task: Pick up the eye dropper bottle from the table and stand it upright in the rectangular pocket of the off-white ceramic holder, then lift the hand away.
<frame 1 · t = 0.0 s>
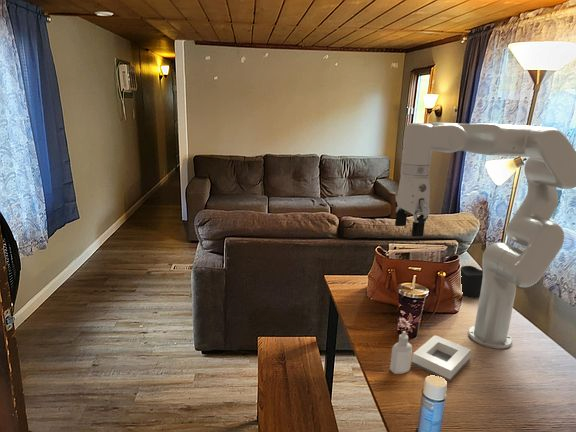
hand: (408, 230, 117), 37 cm above the table, tool pointing down, fingers open, 9 cm apart
pen holder: (470, 294, 165), on the table
bottle holder: (440, 362, 120), on the table
eye dropper bottle: (399, 370, 116), on the table
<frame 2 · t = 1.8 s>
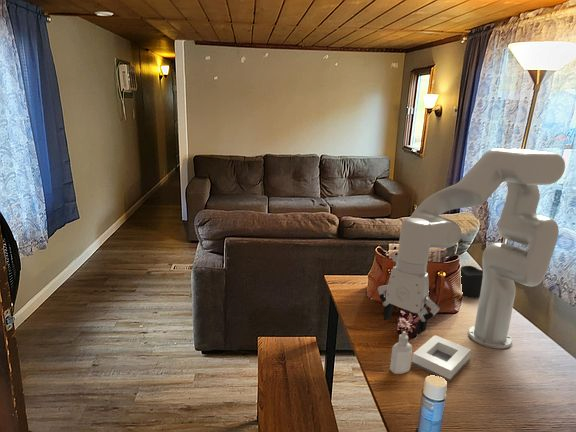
hand: (403, 325, 112), 14 cm above the table, tool pointing down, fingers open, 9 cm apart
nothing on the table moved.
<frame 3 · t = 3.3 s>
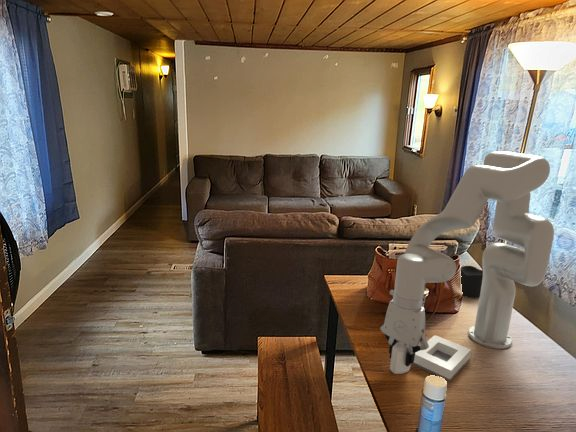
hand: (401, 359, 115), 3 cm above the table, tool pointing down, fingers closed on eye dropper bottle, 4 cm apart
eye dropper bottle: (399, 370, 116), on the table, touching gripper
everything else where it was.
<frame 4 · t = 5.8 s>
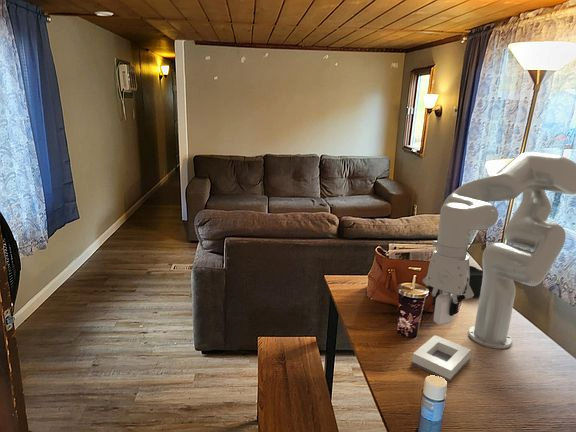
hand: (444, 310, 116), 17 cm above the table, tool pointing down, fingers closed on eye dropper bottle, 4 cm apart
eye dropper bottle: (443, 321, 117), point 13 cm above the table, touching gripper
everything else where it was.
when the fingers open (5 cm above the table, at t = 8.5 s): eye dropper bottle drops 1 cm, resting on bottle holder.
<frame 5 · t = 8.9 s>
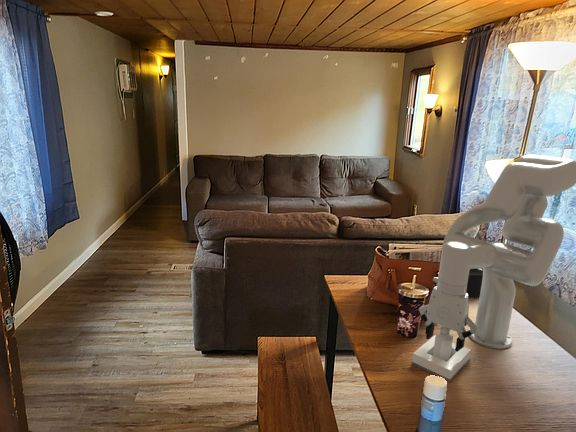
hand: (443, 342, 119), 6 cm above the table, tool pointing down, fingers open, 8 cm apart
eye dropper bottle: (441, 359, 120), point 1 cm above the table, touching bottle holder
everything else where it was.
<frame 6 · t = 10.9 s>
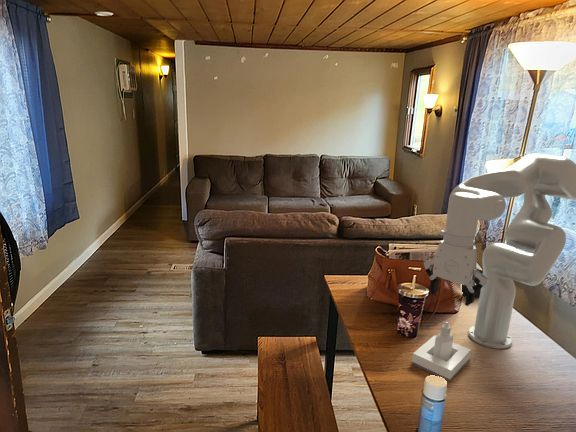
hand: (450, 298, 115), 20 cm above the table, tool pointing down, fingers open, 9 cm apart
nothing on the table moved.
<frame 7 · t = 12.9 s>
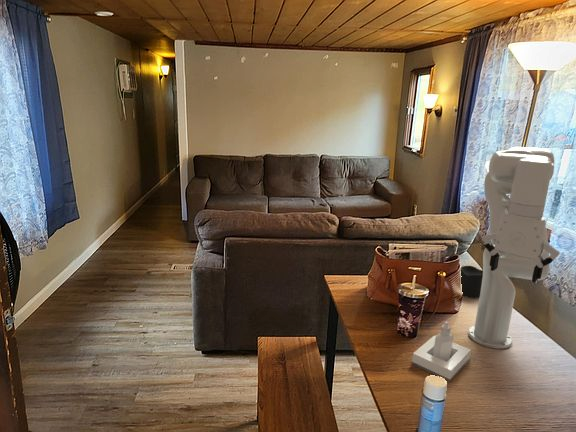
hand: (513, 274, 106), 30 cm above the table, tool pointing down, fingers open, 9 cm apart
nothing on the table moved.
at the end: eye dropper bottle 0.0 cm off-centre on the bottle holder, point 0.6 cm above the bottle holder's base; eye dropper bottle tilted 0°; the gripper is holding nothing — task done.
